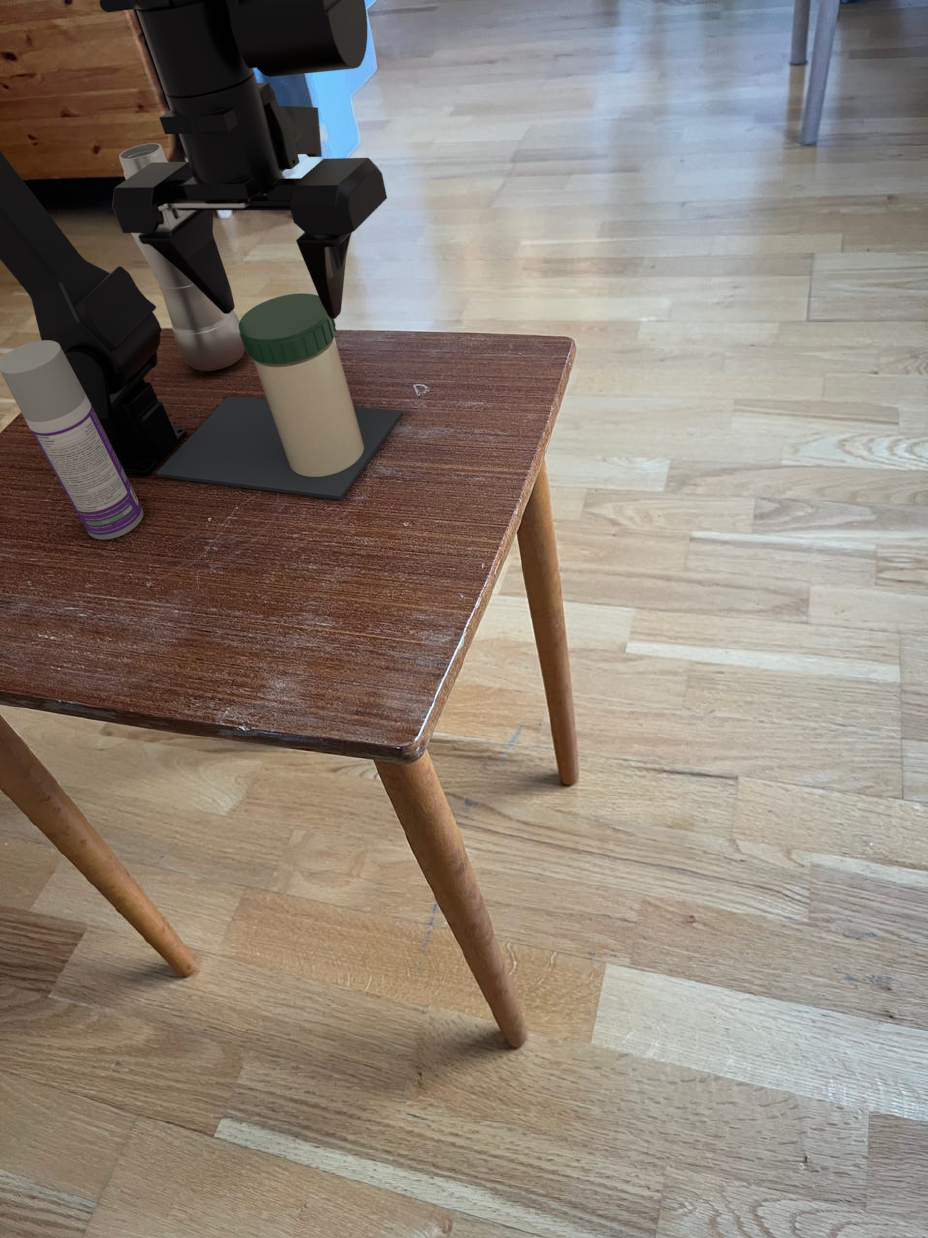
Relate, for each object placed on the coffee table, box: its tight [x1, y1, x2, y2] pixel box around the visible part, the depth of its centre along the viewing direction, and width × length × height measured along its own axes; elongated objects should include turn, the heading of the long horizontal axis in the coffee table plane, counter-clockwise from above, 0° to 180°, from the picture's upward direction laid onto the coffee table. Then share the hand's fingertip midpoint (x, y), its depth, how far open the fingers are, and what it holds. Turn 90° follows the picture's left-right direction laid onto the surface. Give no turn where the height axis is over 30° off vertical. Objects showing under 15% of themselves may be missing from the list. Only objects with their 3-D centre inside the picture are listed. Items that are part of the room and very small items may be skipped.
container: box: [0, 340, 144, 540], centre depth 72 cm, size 5×5×15 cm
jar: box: [252, 336, 364, 477], centre depth 75 cm, size 6×6×12 cm
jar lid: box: [239, 292, 337, 364], centre depth 71 cm, size 7×7×2 cm
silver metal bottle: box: [118, 142, 246, 372], centre depth 87 cm, size 6×7×20 cm
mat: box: [155, 395, 404, 501], centre depth 82 cm, size 18×12×1 cm, turn 68°
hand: (281, 313), depth 70 cm, fingers open, 9 cm apart
